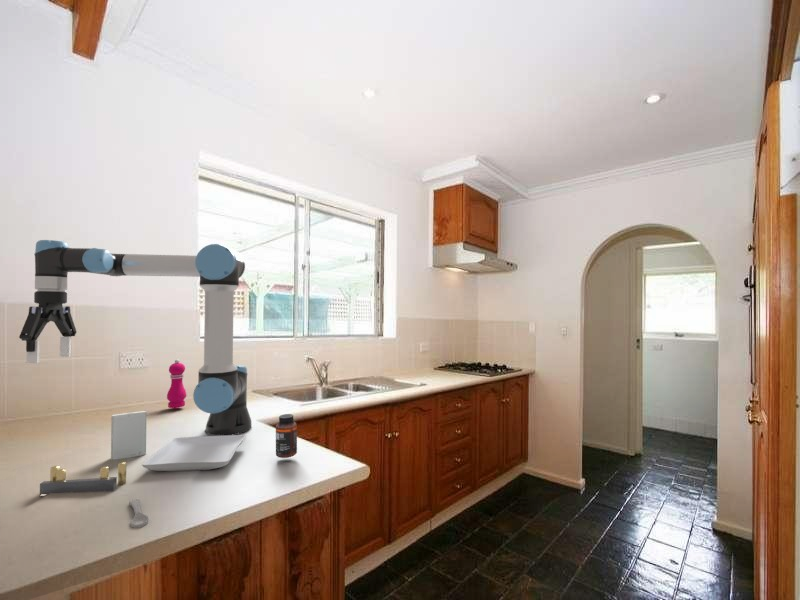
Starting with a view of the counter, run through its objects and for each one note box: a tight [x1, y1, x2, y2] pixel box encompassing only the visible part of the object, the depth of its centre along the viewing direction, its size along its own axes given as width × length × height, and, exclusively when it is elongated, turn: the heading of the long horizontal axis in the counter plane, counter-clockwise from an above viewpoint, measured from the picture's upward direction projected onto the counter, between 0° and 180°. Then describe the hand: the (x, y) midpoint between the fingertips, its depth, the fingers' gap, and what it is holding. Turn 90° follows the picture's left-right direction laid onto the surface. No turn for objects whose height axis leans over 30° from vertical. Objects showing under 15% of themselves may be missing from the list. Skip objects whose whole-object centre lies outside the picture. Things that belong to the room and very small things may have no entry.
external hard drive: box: [110, 410, 148, 461], centre depth 110 cm, size 2×8×12 cm, turn 123°
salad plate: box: [141, 434, 247, 472], centre depth 109 cm, size 21×21×3 cm
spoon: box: [128, 498, 150, 529], centre depth 79 cm, size 3×12×2 cm, turn 40°
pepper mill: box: [166, 358, 187, 409], centre depth 165 cm, size 7×7×20 cm
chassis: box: [39, 461, 127, 496], centre depth 90 cm, size 16×5×5 cm, turn 99°
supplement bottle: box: [275, 413, 298, 459], centre depth 112 cm, size 6×6×11 cm
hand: (49, 359), depth 119 cm, fingers open, 13 cm apart
